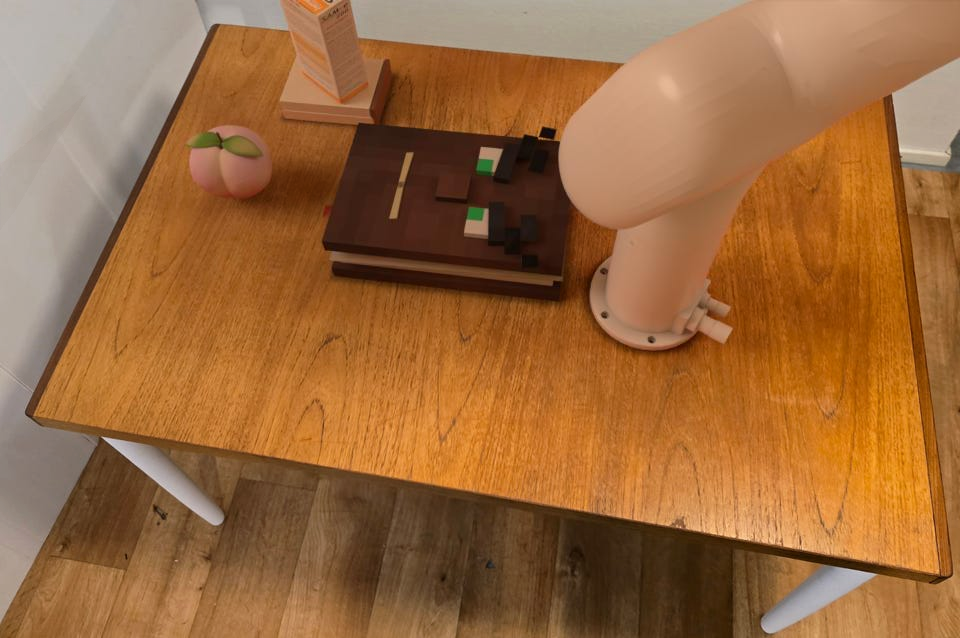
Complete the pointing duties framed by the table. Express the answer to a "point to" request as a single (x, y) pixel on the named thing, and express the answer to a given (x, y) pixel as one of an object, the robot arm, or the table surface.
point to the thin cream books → (318, 105)
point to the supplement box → (327, 45)
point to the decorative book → (451, 211)
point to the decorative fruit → (230, 161)
